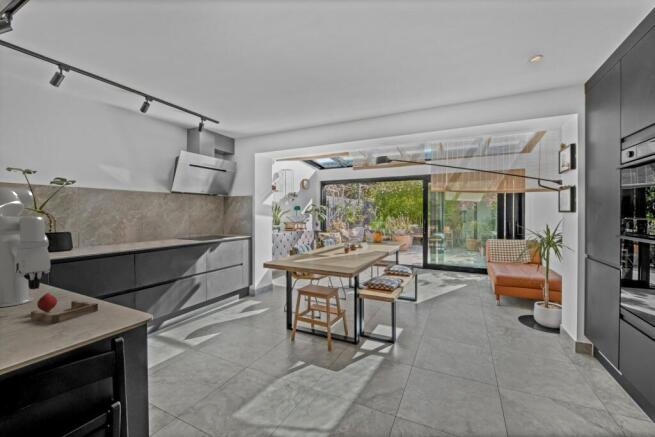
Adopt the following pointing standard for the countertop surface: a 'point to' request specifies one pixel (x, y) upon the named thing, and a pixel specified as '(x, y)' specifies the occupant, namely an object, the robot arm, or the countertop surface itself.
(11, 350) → the countertop surface
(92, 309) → the corral
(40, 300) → the onion
